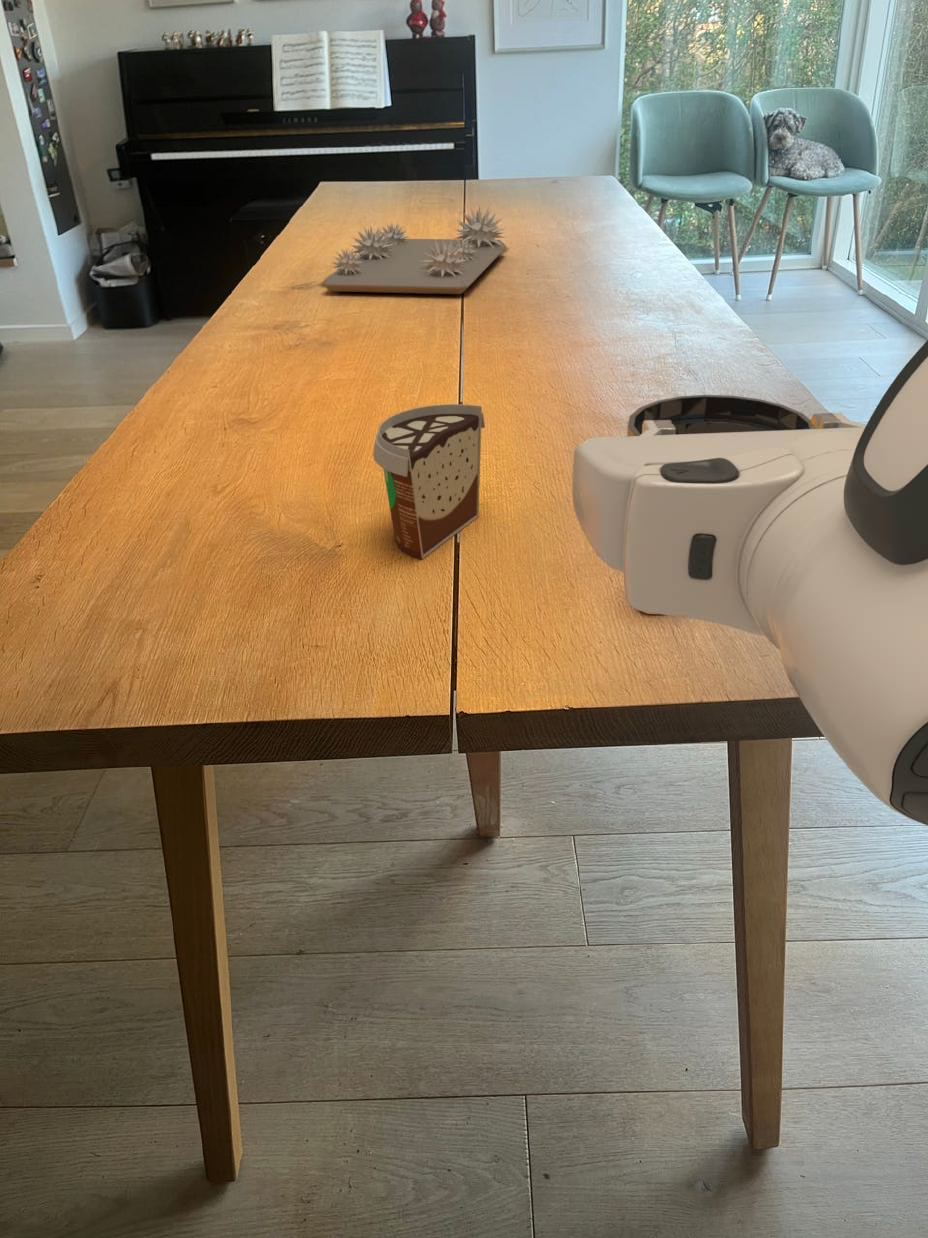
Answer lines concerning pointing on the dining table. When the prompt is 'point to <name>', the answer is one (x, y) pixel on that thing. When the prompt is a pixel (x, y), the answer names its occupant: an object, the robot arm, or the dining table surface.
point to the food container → (431, 473)
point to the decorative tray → (418, 260)
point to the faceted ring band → (718, 415)
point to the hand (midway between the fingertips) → (738, 429)
